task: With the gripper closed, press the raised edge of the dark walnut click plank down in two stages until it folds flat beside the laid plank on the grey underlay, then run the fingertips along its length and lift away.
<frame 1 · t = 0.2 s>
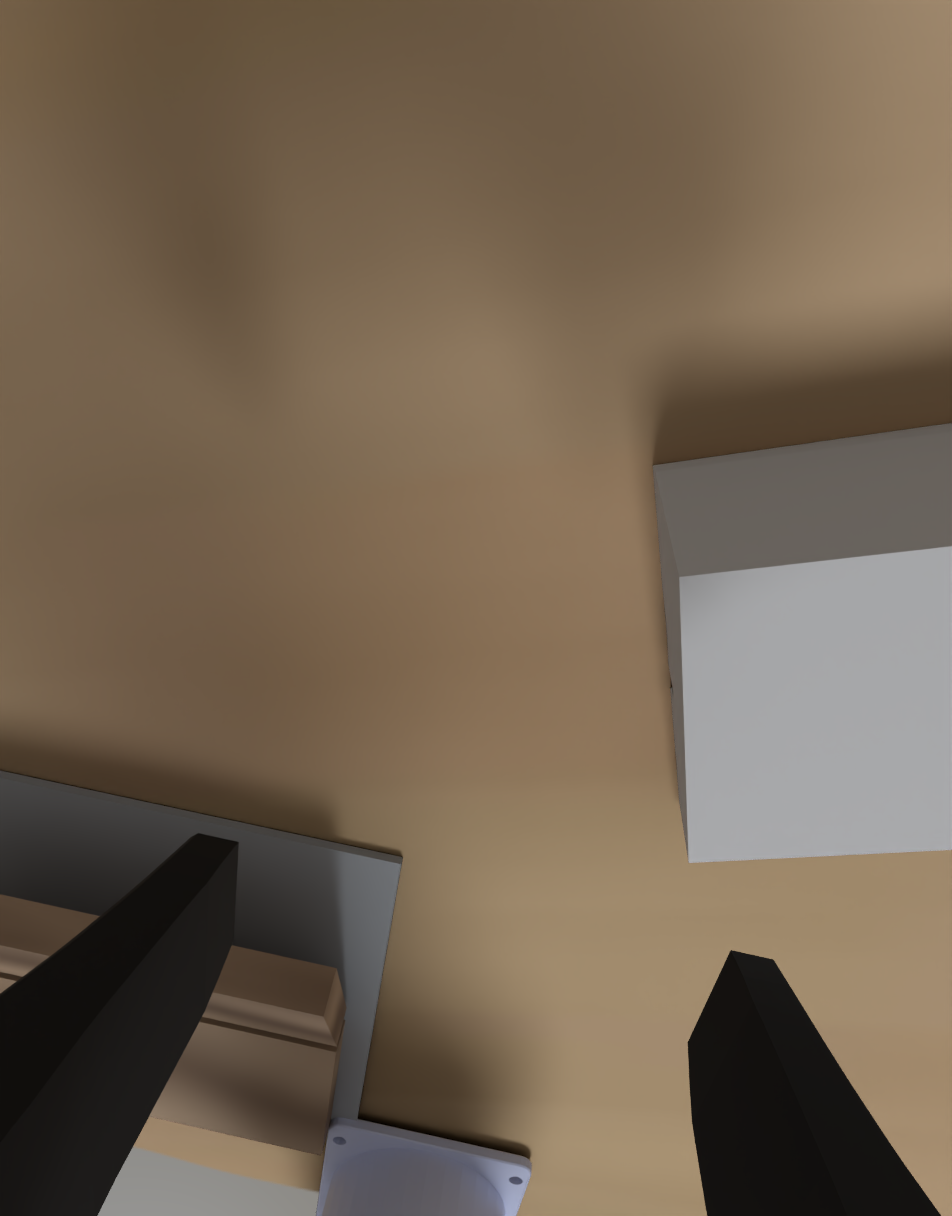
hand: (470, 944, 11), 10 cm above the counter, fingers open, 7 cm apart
underlay: (158, 960, 27), on the counter
click plank: (115, 962, 23), point 3 cm above the counter, hinge at 28.0°
laid plank: (155, 1033, 28), resting on underlay
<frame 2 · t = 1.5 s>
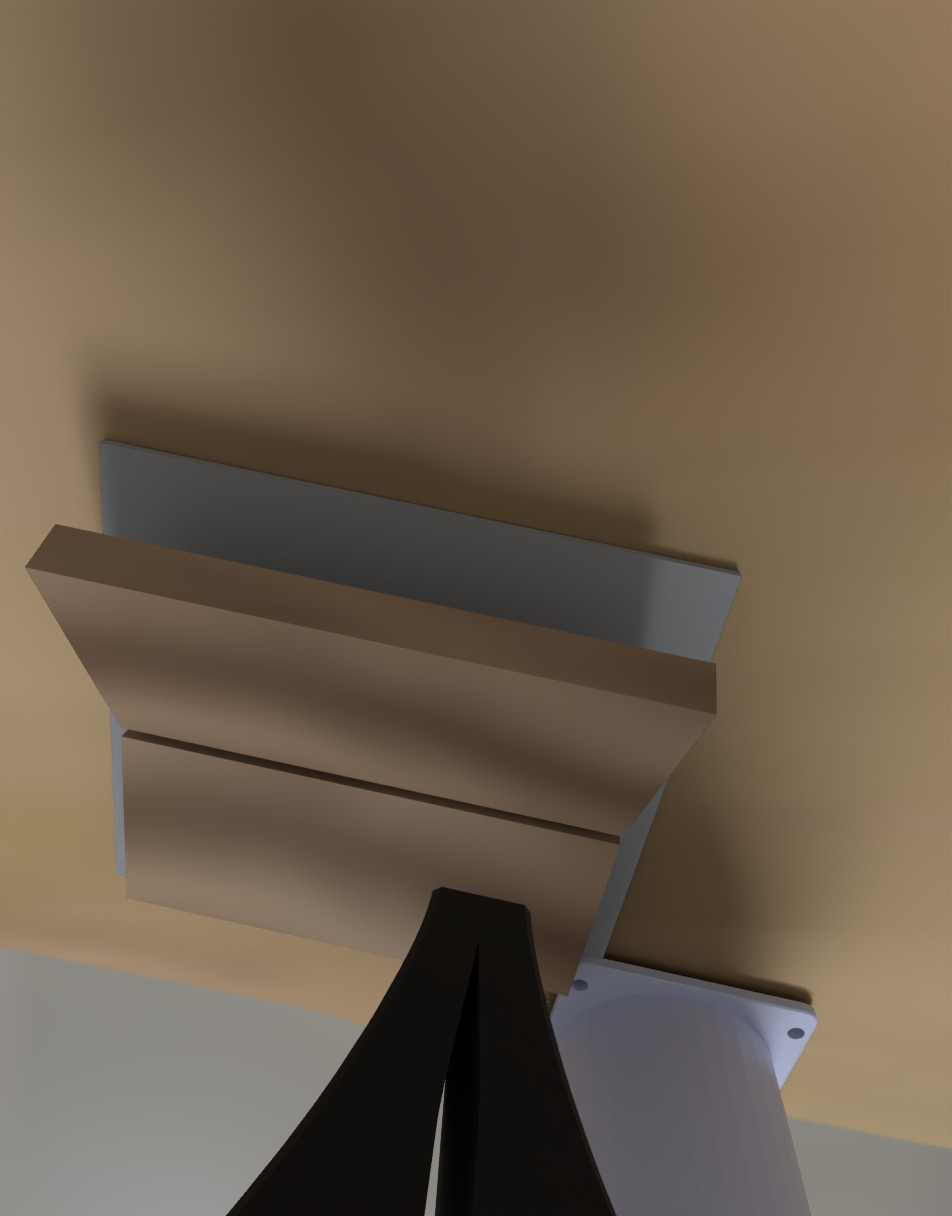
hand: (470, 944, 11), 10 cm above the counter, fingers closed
underlay: (383, 742, 22), on the counter
click plank: (375, 700, 18), point 3 cm above the counter, hinge at 28.0°
laid plank: (366, 844, 23), resting on underlay
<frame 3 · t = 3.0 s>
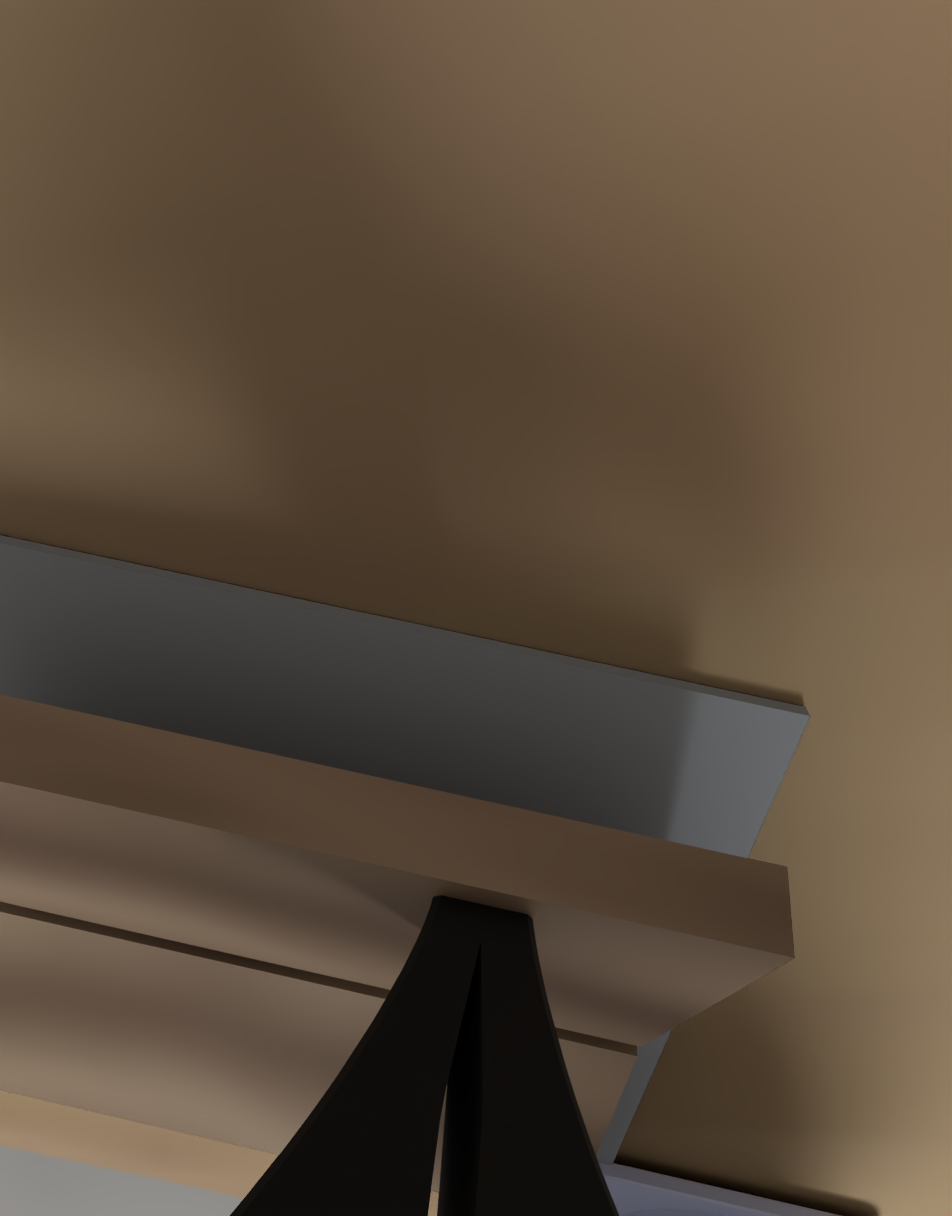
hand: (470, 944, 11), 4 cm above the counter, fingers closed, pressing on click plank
underlay: (325, 904, 17), on the counter
click plank: (299, 883, 13), point 3 cm above the counter, hinge at 26.0°, touching gripper
laid plank: (307, 1025, 18), resting on underlay
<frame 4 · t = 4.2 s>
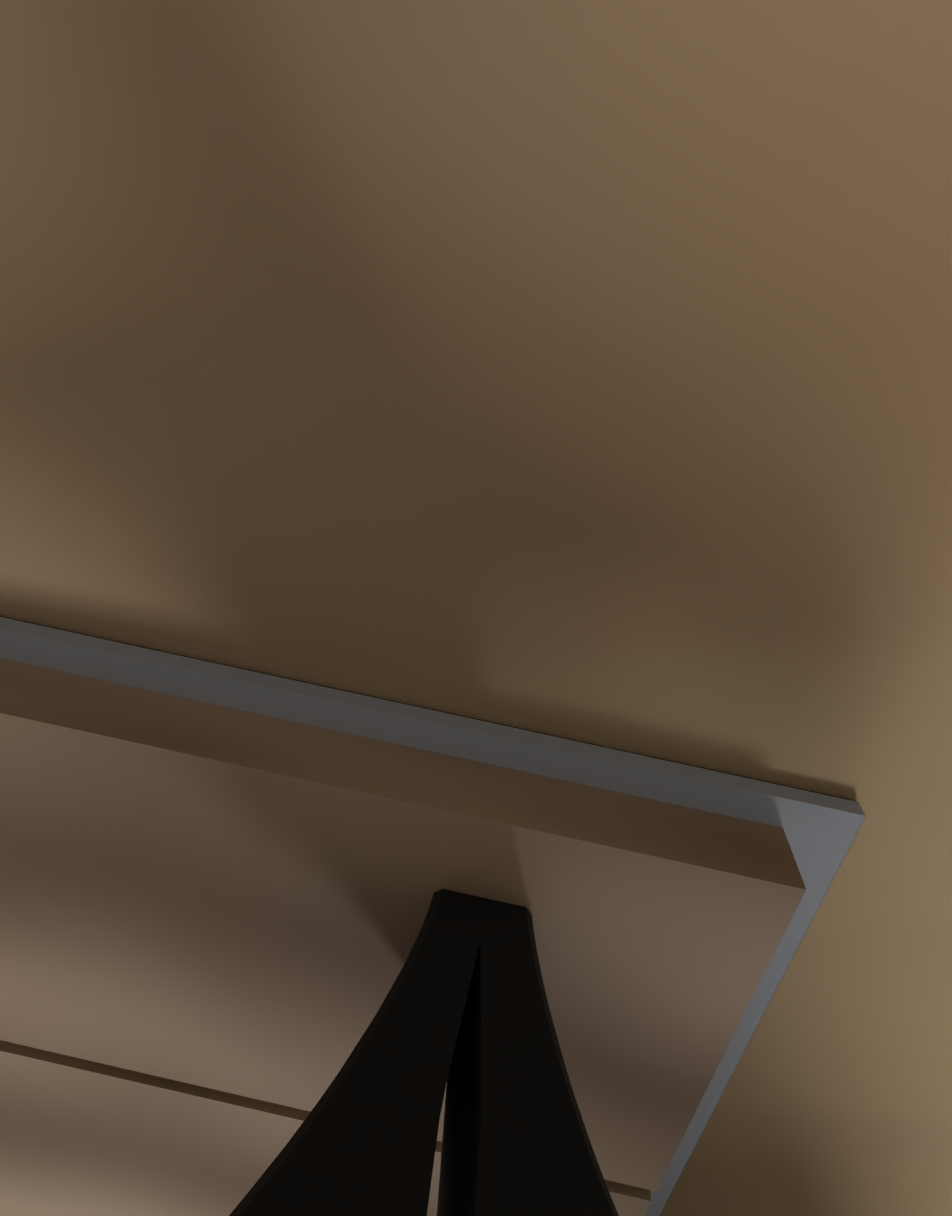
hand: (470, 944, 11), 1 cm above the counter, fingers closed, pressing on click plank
underlay: (284, 1010, 14), on the counter
click plank: (279, 926, 12), point 1 cm above the counter, hinge at -0.1°, touching gripper, underlay
laid plank: (267, 1141, 16), resting on underlay
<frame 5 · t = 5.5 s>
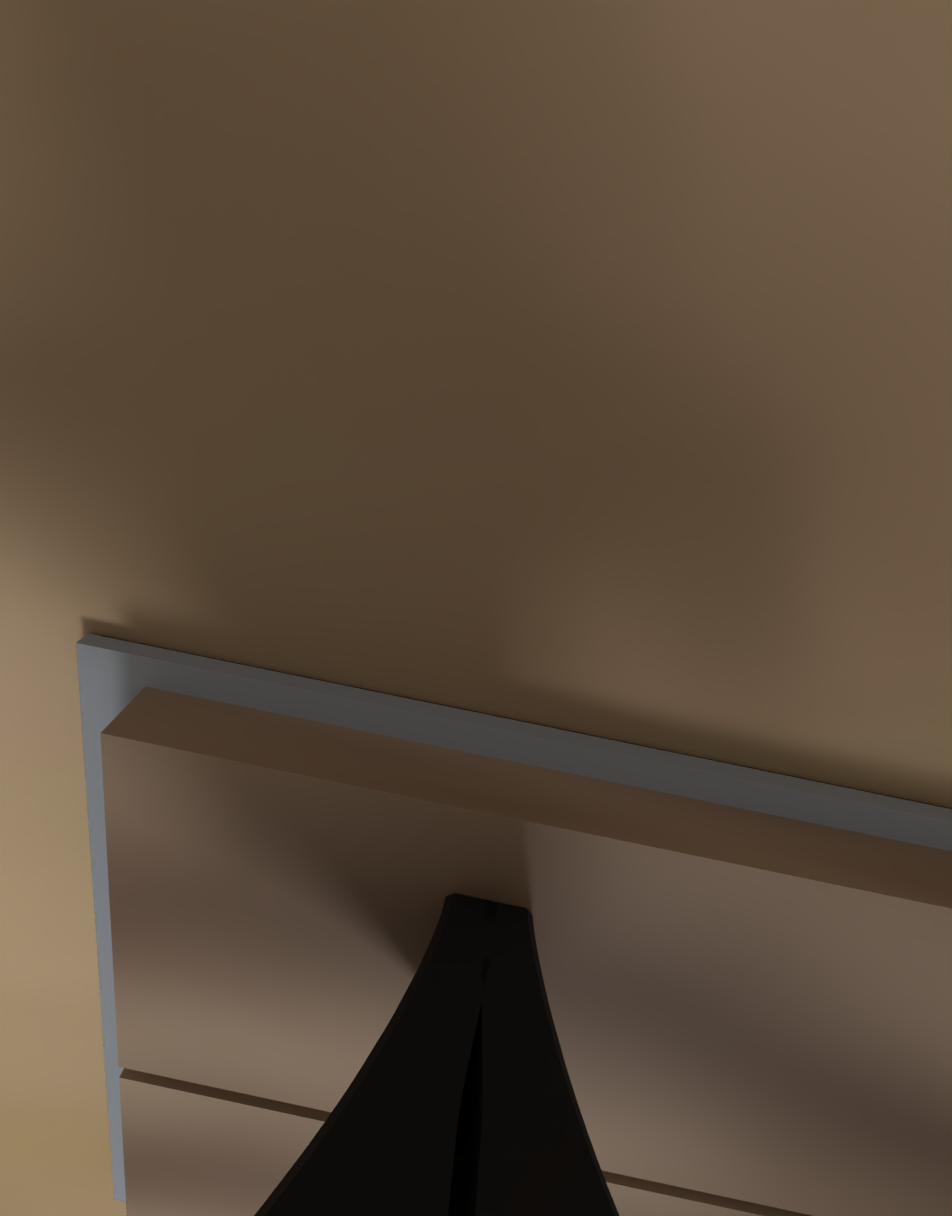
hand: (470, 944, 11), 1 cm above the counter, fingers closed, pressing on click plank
underlay: (527, 1058, 14), on the counter
click plank: (566, 983, 12), point 1 cm above the counter, hinge at -0.1°, touching gripper, underlay
laid plank: (490, 1185, 15), resting on underlay
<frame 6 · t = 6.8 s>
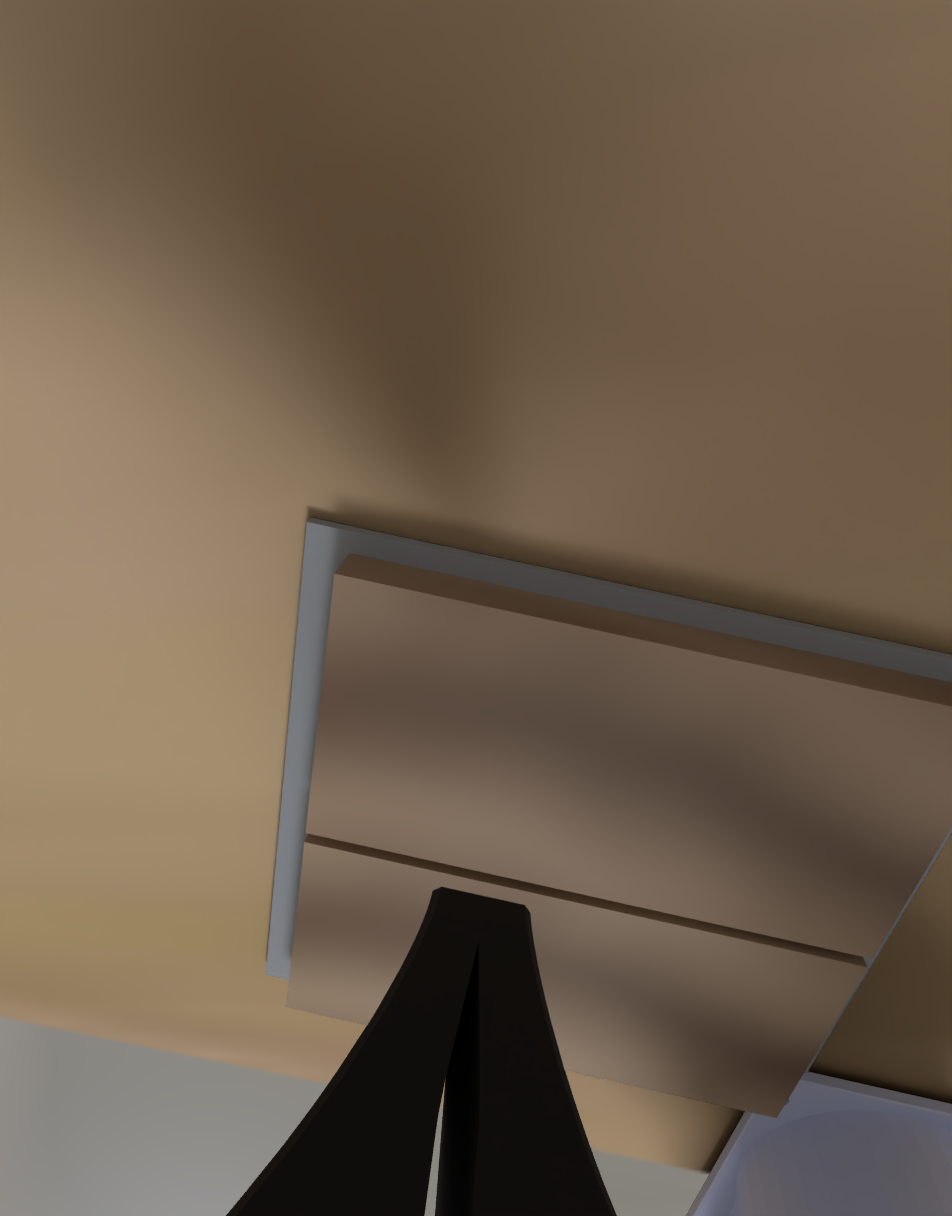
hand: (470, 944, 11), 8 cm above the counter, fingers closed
underlay: (588, 844, 20), on the counter
click plank: (623, 765, 17), point 1 cm above the counter, hinge at -0.1°, touching underlay
laid plank: (555, 950, 21), resting on underlay
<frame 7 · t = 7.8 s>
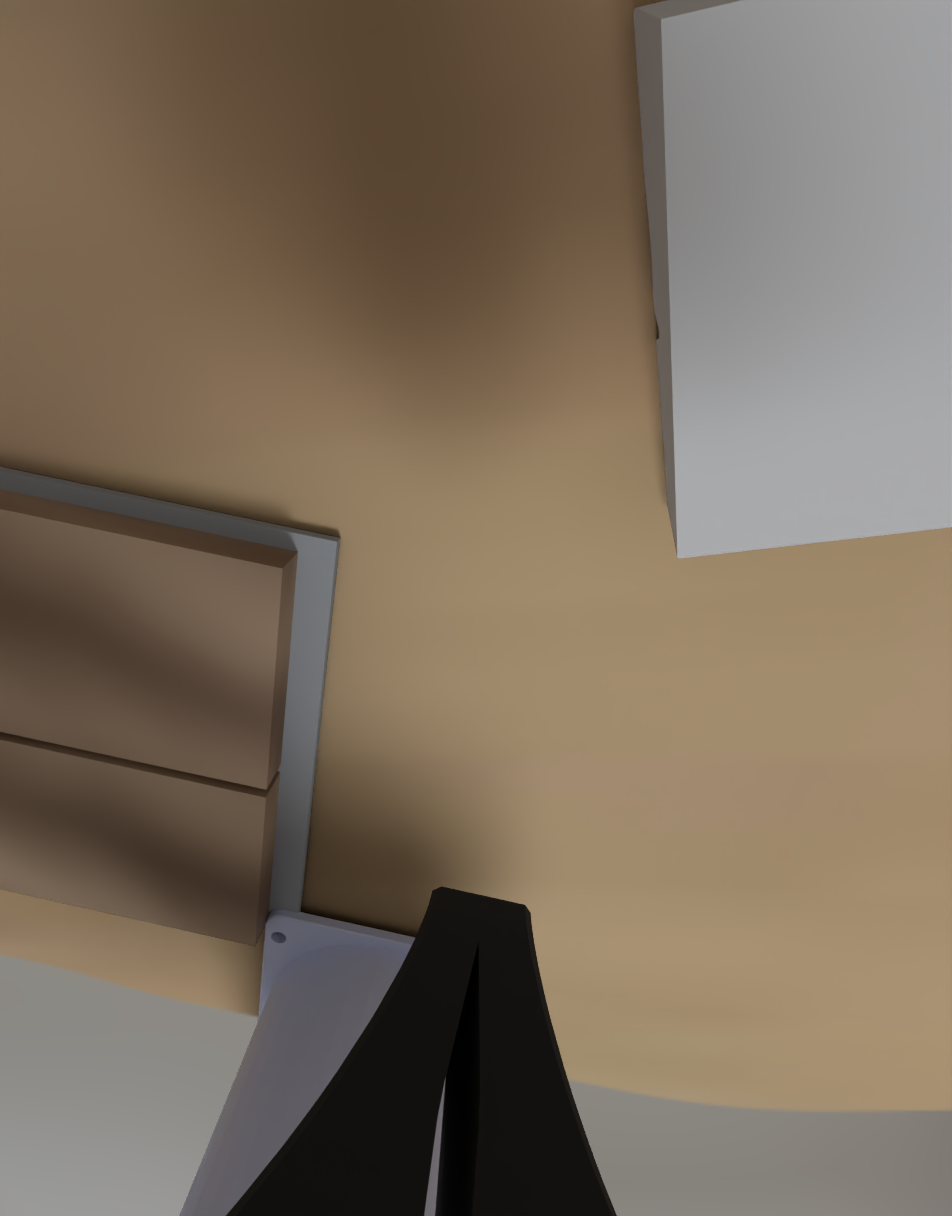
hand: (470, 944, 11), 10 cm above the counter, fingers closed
underlay: (62, 703, 23), on the counter
click plank: (35, 623, 21), point 1 cm above the counter, hinge at -0.1°, touching underlay
laid plank: (63, 802, 24), resting on underlay
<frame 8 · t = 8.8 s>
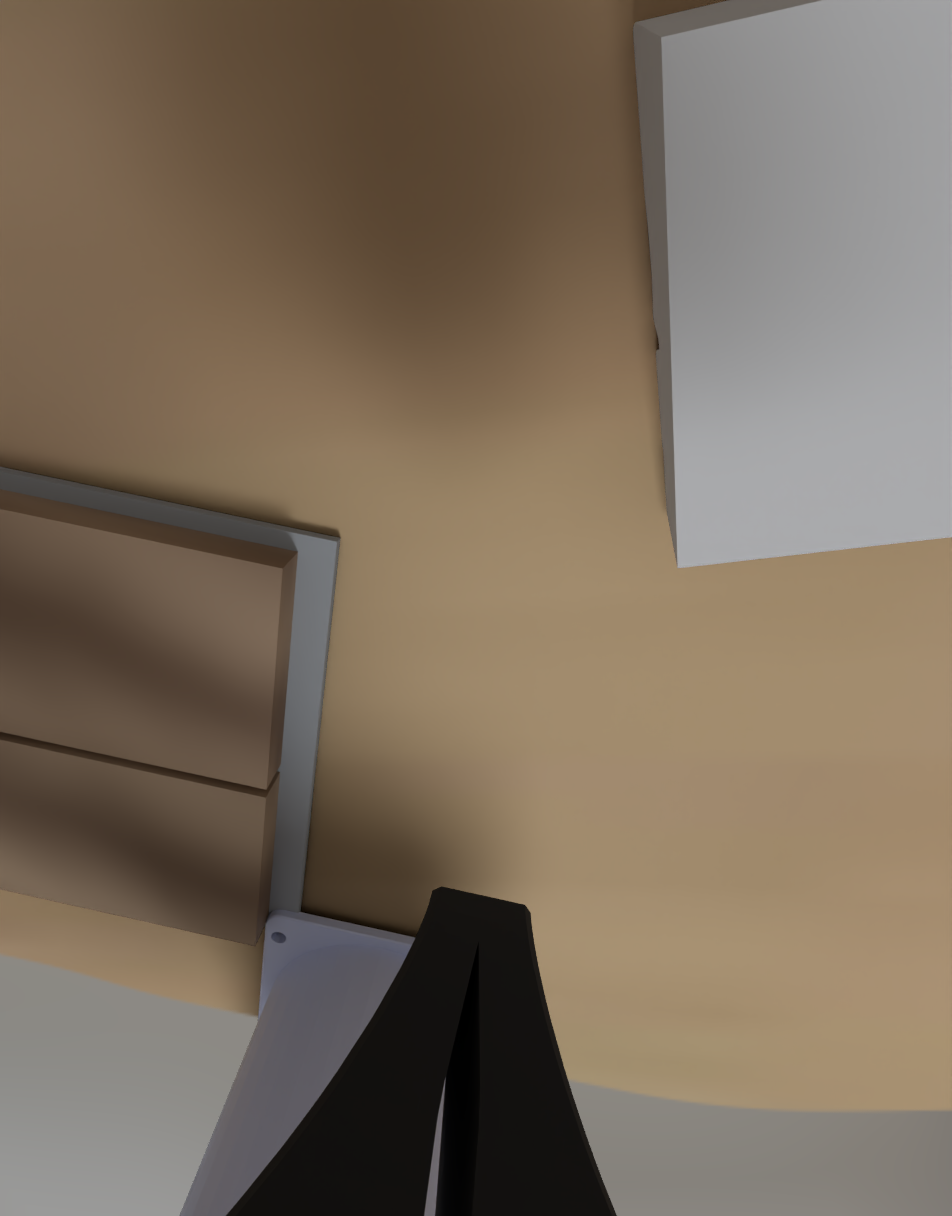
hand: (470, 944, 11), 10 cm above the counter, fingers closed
underlay: (62, 703, 23), on the counter
click plank: (35, 623, 21), point 1 cm above the counter, hinge at -0.1°, touching underlay
laid plank: (63, 802, 24), resting on underlay
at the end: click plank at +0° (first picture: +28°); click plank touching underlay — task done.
